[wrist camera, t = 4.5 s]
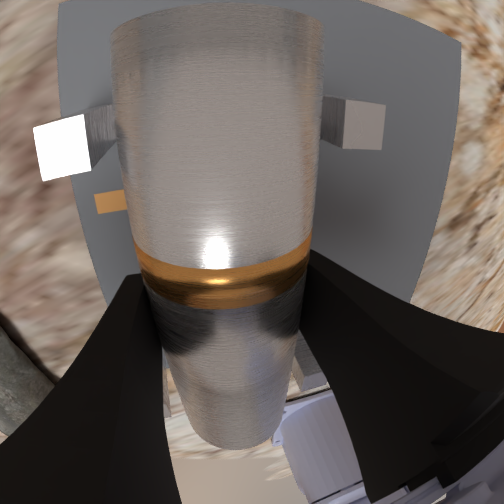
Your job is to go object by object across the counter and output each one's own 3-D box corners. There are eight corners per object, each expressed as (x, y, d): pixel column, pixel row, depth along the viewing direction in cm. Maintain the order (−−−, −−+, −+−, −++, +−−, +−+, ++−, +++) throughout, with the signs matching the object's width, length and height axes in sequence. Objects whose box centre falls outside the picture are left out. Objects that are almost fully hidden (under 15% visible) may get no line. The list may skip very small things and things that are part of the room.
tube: (271, 364, 15) (294, 440, 11) (184, 375, 14) (191, 455, 10) (287, 42, 7) (367, 20, 3) (132, 48, 6) (77, 23, 3)
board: (400, 308, 20) (404, 313, 19) (135, 363, 16) (135, 372, 15) (453, 41, 10) (461, 42, 9) (64, 7, 6) (58, 3, 6)
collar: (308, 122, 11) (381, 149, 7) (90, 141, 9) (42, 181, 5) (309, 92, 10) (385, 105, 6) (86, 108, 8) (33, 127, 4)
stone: (116, 425, 19) (-7, 266, 12) (118, 466, 15) (-37, 299, 9) (29, 444, 17) (-80, 318, 10) (24, 477, 13) (-102, 347, 7)
